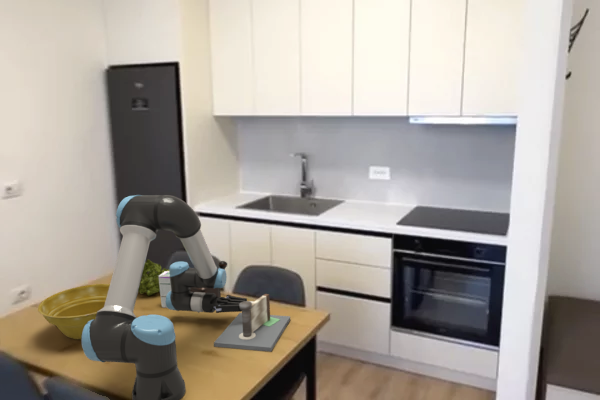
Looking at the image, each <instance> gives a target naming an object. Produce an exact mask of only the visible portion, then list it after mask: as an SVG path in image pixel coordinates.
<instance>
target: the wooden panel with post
mask: <svg viewBox="0 0 600 400" xmlns="http://www.w3.org/2000/svg"><path fill="white" fill-rule="evenodd" d="M250 301H251V300H247V301H243V302H241V303H239V307H240V309H241V310H242V311H241V313H242V325H243V336H244V337H250V336H251V333H252V332H254V331H255V330H256V329H258V328H259V327H260V326H262V325H263V324H264V323H265V322H267V321H268V320H270V315H271V307H270V306H271V305H270V303H271V301H270V294H269V293H264V294H263V295H261V296H260V297H259V298H257V299H256V300H254V302H253V303H251V302H250Z"/></svg>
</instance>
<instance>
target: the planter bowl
mask: <svg viewBox="0 0 600 400" xmlns="http://www.w3.org/2000/svg"><path fill="white" fill-rule="evenodd" d="M109 286H110V283H96V284H93V283H92V284H87V285H81V286H77V287H73V288H72V287H71V288H69V289H65V290H61V291H59V292H57V293H54V294H52V295H50V296H48V297H46V298H45V299H44V300H42V301H41V302H40V303H39V304H38V306H37V312H38V313H39V314H40V315H42V316H43V318H44V319H45V320H46V321H47V322H48V323H49V324H50V325H53V326H56V328H57V329H58V330H59V331H60V332H61V333H62V334H63V335H64V336H66V337H68V338H70V339H73V340H82V332H83V329H84V326H85V325H86V324H87V322H88V321H90V320H95V318H96V314H97V312H98V311H99V310H101V309H102V308H103V307H104V305H105V301H106V298H107V294H108V290H109Z"/></svg>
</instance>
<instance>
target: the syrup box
mask: <svg viewBox="0 0 600 400" xmlns="http://www.w3.org/2000/svg"><path fill="white" fill-rule="evenodd" d="M169 275H170V272H169V271H164V273H163V272H162V274H161V275H159V276H158V277H159V286H160V291H159V294H160V303H161V308H166V309H168V308H167V306H166V302H165V301H166V296H167V294H168V292H169V291H171V283H170V277H169Z"/></svg>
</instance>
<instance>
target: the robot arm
mask: <svg viewBox="0 0 600 400" xmlns="http://www.w3.org/2000/svg"><path fill="white" fill-rule="evenodd" d="M115 216H116V219H115V220H116V224H117V227H118V228H119V232H120V234H121V235H122V239H121V242H120V245H119V246H120V247H119V250H118V253H117V257H116V261H115V265H114V269H113V273H112V276H111V279H110V283H109V284H110V286H109V290H108V294H107V298H106V301H105V305H104V307H103V308H102V309H101V310H99V311H98V312H97V314H96V318H95V320H90V321H88V322H87V324H86V325H85V326H84V329H83V332H82V339H81V347H82V349H83V353H84V356H85V357H86V358H87V359H89V360H90V361H93V362H94V361H95V362H101V363H107V362H108V363H122V364H123V363H124V364H135V372H136V373H135V374H136V375H135V378H134V382H133V383H134V384H133V387H132V391H131V397H132V400H182V398H183V397H184V396H185V394H186V382H185V379H184V378H183V376H182V372H180V369H179V367H178V357H177V356H178V355H177V345H176V332H175V327H174V323H173V321H171V319H170V318H168V317H167V316H164V315H161V314H160V315H159V314H147V315H140V316H136V314H135V313H134V310H135V305H136V301H137V298H138V293H139V292H138V289H139V285H140V281H141V277H142V273H143V269H144V264H145V263H146V261H147V255H148V251H149V247H150V243H151V242H152V241H154V240H155V239H156V238H157V235H158V231H169V232H173V234H174V235H175V237H176V238H178V239H179V240H180V241H181V243H182V246H183V247H184V249H185V252H186V253H187V256H188V258H189V260H190V261H191V263H192V266H193V267H190V266H189V265H190V264H189V263H188V262H187V261H175V262H173V263H172V264H170V265H169V268H168V270H169V272H170V275H169V277H170V283H171V291H169V292H168V294H167V296H166V301H165V302H166V306H167V308H166V309H168V310H170V311H171V310H172V311H177V312H179V311H181V312H183V311H184V312H197V313H198V314H200V313H203V312H204V313H208V314H209V313H210V314H213V313H214V312H215V313H216V314H219V313H235V312H237V313H238V312H239V313H242V310H241V309H240V307H239V303H241V302H243V301H248V298H247V297H241V296H240V297H239V296H234V295H230V294H227V295H226V296H221V297H217V296H216V294H215V293H203V292H191V287H194V288H214V289H215V288H220V289H223V288H224V287H225V286H226V283H227V279H228V276H227V271H226V269H225V270H224V269H220V267H217V265H216V263H215V260H214V258H213V256H212V253H211V251H210V248H209V247H208V244H207V242H206V240H205V237H204V235H203V232H202V230H201V228H202V223H201V220H200V217H199V216H198V214H197V212H196V211H195V210H194V209H193V208H192V207H191V206H190V205H189V204H188V203H187V202H185V201H184V200H182V199H181V198H179V197H177V196H175V195H170V194H162V195H159V194H158V195H157V194H155V195H146V194H145V195H143V194H142V195H141V194H136V195H135V194H134V195H129V196H127V197H124V198H123V199H122V200H121V201H120V203H119V204H118V206H117V209H116V213H115ZM249 301H250V302H251V303H253V302H254V301H255V300H254V301H253V300H249Z"/></svg>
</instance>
